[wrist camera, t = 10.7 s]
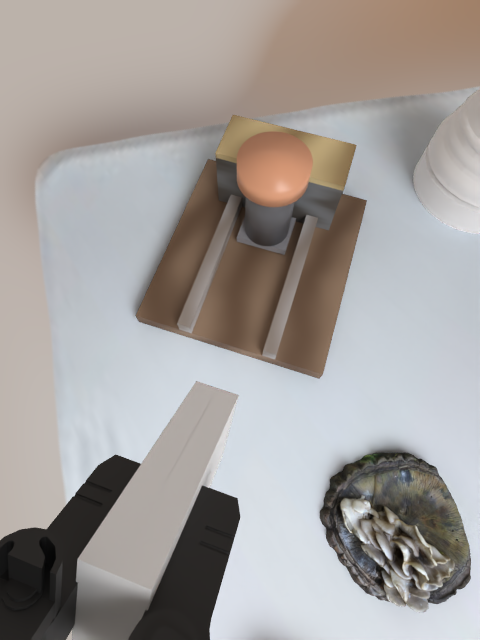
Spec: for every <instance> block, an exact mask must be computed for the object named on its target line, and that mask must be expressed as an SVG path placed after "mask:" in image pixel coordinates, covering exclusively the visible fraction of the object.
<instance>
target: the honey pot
mask: <svg viewBox="0 0 480 640" xmlns="http://www.w3.org/2000/svg"><path fill="white" fill-rule="evenodd" d="M413 182H414V189H415V192H416V194H417V196H418V198H419V200H420V202H421V203H422V205H423V206H424V207H425V208H426V209H427V211H428V212H429V213H430V214H431V215H433V216H434V217H435V218H437V219H438V220H439V221H441V222H442V223H444V224H446V225H448V226H450V227H452V228H454V229H456V230H460V231H464V232H468V233H472V234H480V89H479V90H477V91H476V92H475V93H473V94H472V95H471V96H470V97H468V98H467V100H466V101H465V103H464V104H462V105H461V106H460V107H459V108H457V110H456V111H455V112H453V113H452V114H451V115H449V116H448V117H447V118H446V119H444V120H443V122H442V123H441V124H440V125H439V127H438V129H437V130H436V132H435V133H434V136H433V137H432V139H431V141H430V142H429V144H428V146H427V147H426V149H425V151H424V153H423V154H422V156H421V158H420V160H419V162H418V163H417V165H416V167H415V170H414V175H413Z"/></svg>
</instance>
